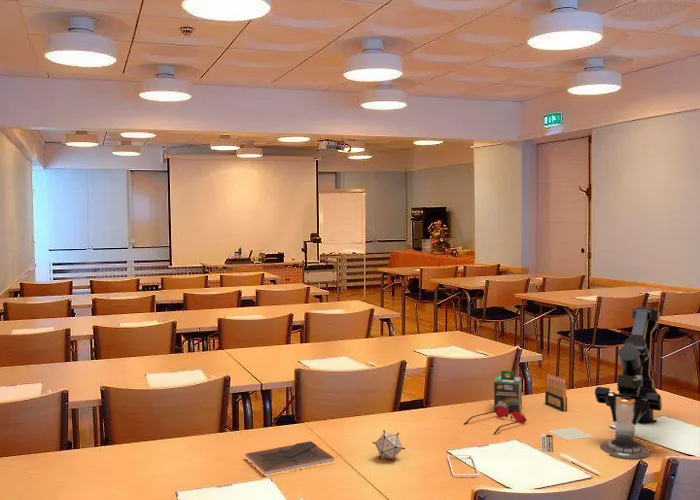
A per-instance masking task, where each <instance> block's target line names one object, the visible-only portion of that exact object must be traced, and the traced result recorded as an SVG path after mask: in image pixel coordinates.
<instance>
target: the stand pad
mask: <svg viewBox="0 0 700 500" xmlns="http://www.w3.org/2000/svg"><path fill="white" fill-rule="evenodd" d="M548 432H549V433H551V434H552V435H553V434H554V435H555V436H557V437H559V438H562V439H564V440H566V441H573V440H579V439H587V438H592V437H594V436H593V435H592V434H589V433H586V432H584V431H583V430H580V429H578V428H576V427H565V428H559V429H552V430H548Z"/></svg>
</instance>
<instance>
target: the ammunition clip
mask: <svg viewBox="0 0 700 500" xmlns="http://www.w3.org/2000/svg"><path fill="white" fill-rule="evenodd" d="M546 379H547V380H546V390H545V397H544V398H545V399H544V404H545V406H548V405H549V407H550V406H551V407H550V408H553V409H556V410H558V411H560V412H563V413H565V412H568V396H567V389H566V380H565V378H562V377H559V376H556V375H555V374H554V375H553V374H551V375H550V373H549V372H548V373H547V377H546Z"/></svg>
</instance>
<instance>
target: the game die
mask: <svg viewBox="0 0 700 500" xmlns="http://www.w3.org/2000/svg"><path fill="white" fill-rule="evenodd" d="M382 432H383V433H382V434H381V436H380V437H379V438H377V440H376V441H373V442H371V443H372V444H373V445H374V444H375V447H376V449H377V451H378V455H379V456H378V459H381V458H385V459H390V460H392V462H395V459H396V457H397V456H398V454H399V453H400V452H401V451H402V450H405V449H406V448H405V447H403V445H402V444H401V441H400V439H399V435H400V432H397V433H390V432H386V430H385V429H383V431H382Z"/></svg>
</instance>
